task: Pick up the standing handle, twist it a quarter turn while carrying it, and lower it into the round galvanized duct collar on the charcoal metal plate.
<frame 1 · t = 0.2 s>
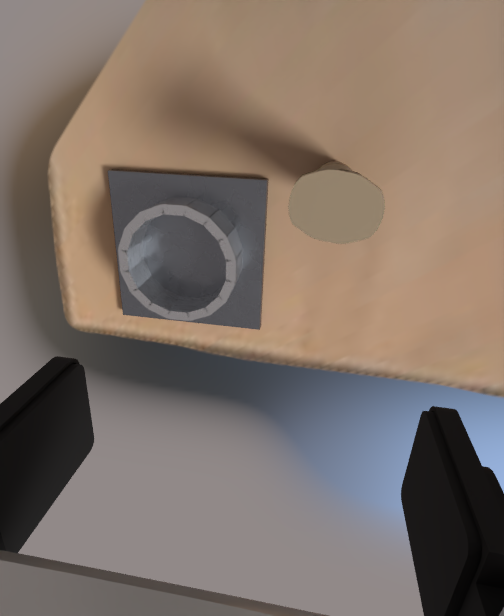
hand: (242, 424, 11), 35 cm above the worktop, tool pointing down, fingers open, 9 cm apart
duct collar: (190, 251, 48), on the worktop
handle: (332, 177, 42), on the worktop
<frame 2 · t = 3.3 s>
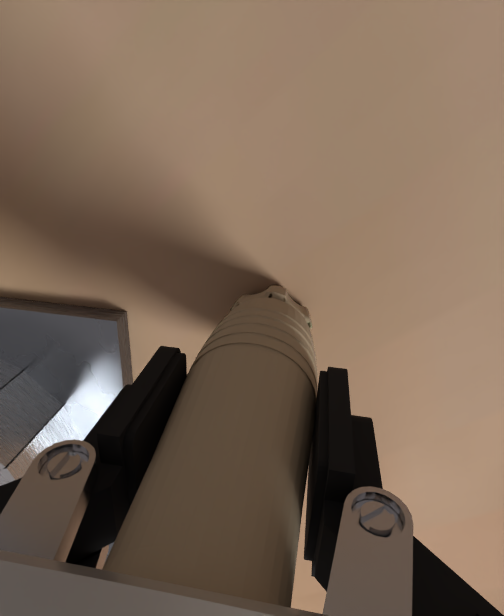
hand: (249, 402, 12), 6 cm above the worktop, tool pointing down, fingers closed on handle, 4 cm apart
handle: (272, 315, 18), on the worktop, touching gripper
when the fingers open (8 cm above the worktop, at t = 10.7 s): handle drops 1 cm, resting on duct collar.
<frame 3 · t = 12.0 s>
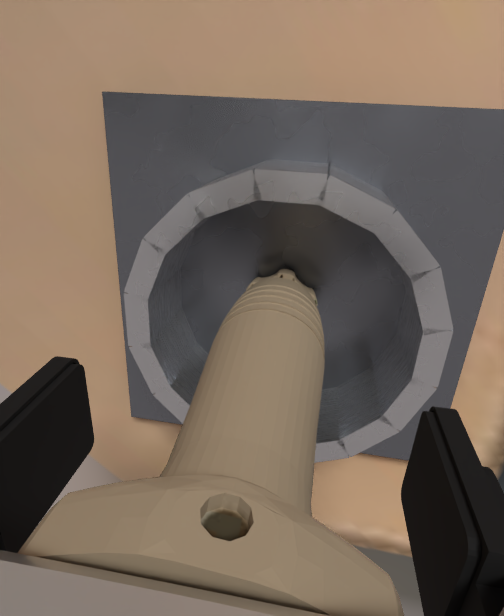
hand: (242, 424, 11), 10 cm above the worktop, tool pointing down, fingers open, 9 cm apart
duct collar: (289, 292, 21), on the worktop
handle: (281, 296, 20), point 1 cm above the worktop, touching duct collar
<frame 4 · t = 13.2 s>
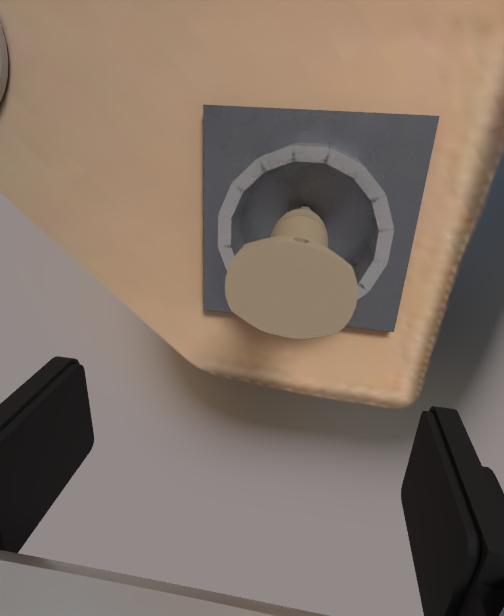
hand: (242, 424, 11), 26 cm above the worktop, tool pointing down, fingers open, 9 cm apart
duct collar: (305, 223, 35), on the worktop
handle: (301, 224, 34), point 1 cm above the worktop, touching duct collar
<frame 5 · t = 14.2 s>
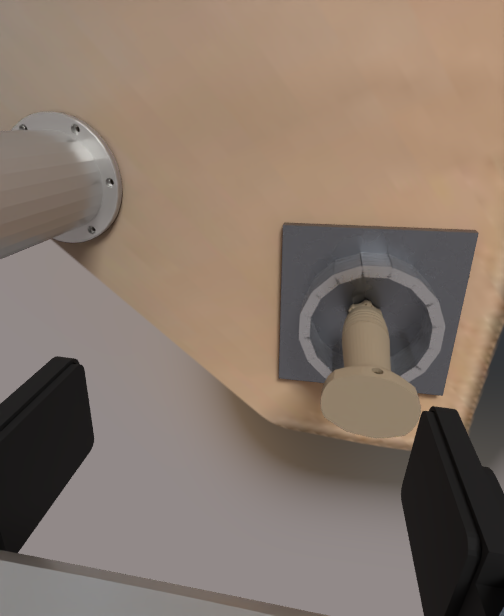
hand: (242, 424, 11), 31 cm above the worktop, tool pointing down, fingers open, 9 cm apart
duct collar: (366, 310, 42), on the worktop
handle: (363, 312, 41), point 1 cm above the worktop, touching duct collar
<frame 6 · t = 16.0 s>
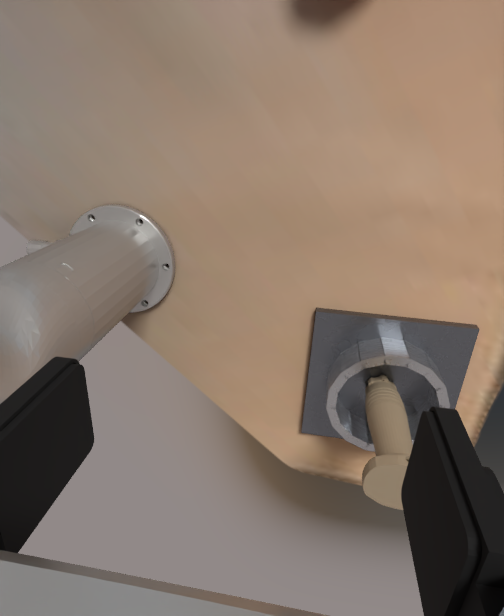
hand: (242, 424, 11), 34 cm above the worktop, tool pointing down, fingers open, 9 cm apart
duct collar: (380, 380, 49), on the worktop
handle: (379, 384, 49), point 1 cm above the worktop, touching duct collar
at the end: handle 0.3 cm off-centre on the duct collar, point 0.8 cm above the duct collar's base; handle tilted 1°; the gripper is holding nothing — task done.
